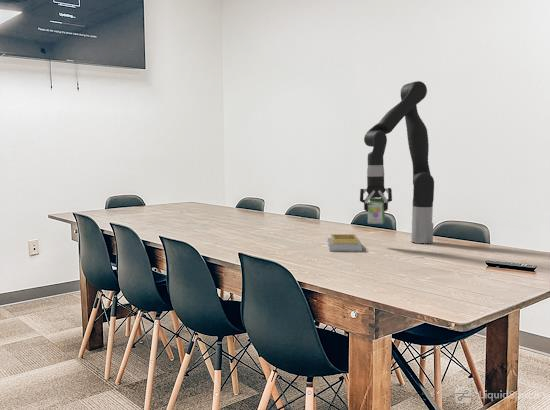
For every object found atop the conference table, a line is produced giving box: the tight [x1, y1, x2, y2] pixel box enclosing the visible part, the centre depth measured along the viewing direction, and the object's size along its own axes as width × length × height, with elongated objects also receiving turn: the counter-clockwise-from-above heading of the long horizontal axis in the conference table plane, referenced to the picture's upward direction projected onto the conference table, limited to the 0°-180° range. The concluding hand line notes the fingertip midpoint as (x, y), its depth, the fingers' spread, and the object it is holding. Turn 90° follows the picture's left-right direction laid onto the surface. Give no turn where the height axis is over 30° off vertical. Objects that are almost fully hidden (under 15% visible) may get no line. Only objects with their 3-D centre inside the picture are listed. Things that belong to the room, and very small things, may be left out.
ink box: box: [367, 193, 386, 225], centre depth 244 cm, size 7×4×13 cm, turn 63°
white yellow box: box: [327, 233, 363, 252], centre depth 241 cm, size 14×16×6 cm
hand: (375, 211), depth 244 cm, fingers closed on ink box, 8 cm apart
